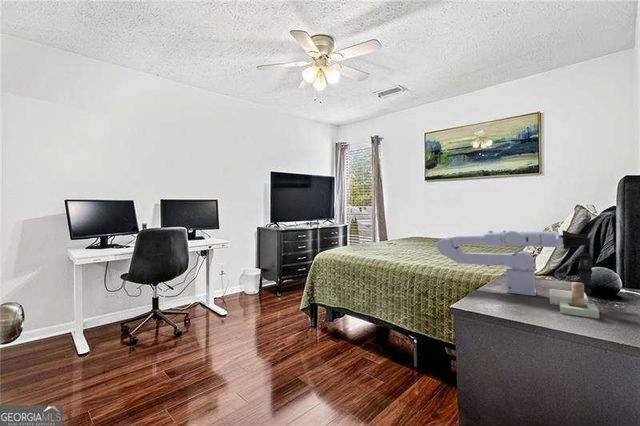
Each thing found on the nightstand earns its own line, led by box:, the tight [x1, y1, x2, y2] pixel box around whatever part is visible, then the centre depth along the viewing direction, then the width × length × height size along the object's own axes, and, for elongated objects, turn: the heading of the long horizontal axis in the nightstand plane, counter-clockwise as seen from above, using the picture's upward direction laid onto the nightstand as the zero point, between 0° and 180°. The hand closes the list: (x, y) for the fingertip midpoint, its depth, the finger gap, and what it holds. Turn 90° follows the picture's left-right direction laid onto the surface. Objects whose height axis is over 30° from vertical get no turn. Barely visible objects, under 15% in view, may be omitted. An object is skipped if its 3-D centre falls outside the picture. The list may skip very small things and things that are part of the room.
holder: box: [558, 300, 600, 320], centre depth 97 cm, size 9×9×2 cm
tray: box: [548, 288, 589, 306], centre depth 107 cm, size 10×10×3 cm
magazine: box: [578, 252, 594, 295], centre depth 121 cm, size 4×13×15 cm, turn 137°
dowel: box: [571, 281, 584, 308], centre depth 97 cm, size 3×3×9 cm
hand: (589, 239), depth 108 cm, fingers open, 7 cm apart
